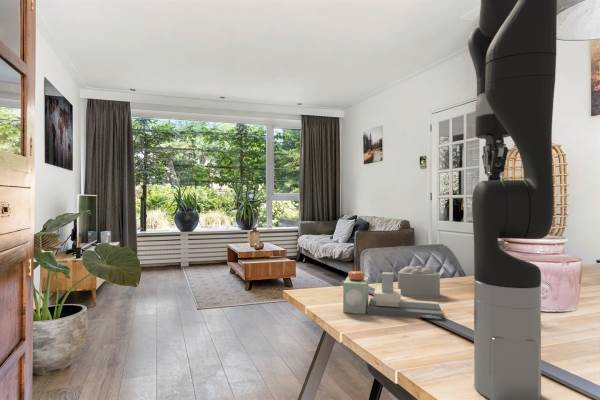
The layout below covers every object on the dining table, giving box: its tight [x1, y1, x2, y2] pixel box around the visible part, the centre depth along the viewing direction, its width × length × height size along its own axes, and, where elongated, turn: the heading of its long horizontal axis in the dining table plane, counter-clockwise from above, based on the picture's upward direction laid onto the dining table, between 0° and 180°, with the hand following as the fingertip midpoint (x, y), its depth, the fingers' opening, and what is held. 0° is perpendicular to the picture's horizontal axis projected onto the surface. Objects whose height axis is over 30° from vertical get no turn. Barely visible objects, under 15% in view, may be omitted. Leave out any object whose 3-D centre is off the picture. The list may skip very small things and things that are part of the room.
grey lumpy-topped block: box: [397, 265, 441, 299], centre depth 125 cm, size 10×13×9 cm
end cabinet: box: [342, 275, 370, 315], centre depth 107 cm, size 10×6×8 cm, turn 165°
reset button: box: [348, 270, 365, 281], centre depth 107 cm, size 4×4×7 cm
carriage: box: [373, 271, 402, 307], centre depth 105 cm, size 7×7×8 cm
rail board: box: [366, 297, 444, 319], centre depth 104 cm, size 10×19×3 cm, turn 75°
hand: (494, 193), depth 84 cm, fingers closed
